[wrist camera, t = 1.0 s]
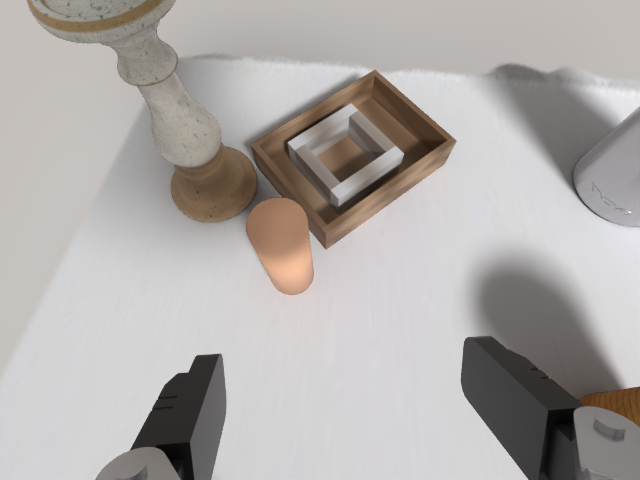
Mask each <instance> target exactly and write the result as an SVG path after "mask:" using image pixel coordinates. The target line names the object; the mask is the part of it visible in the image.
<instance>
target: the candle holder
mask: <svg viewBox="0 0 640 480" xmlns="http://www.w3.org/2000/svg"><path fill="white" fill-rule="evenodd" d="M175 2H176V0H27V3H28V6H29V8H30V11H31V13H32V14H33V16H34V17H35V19H36V20H37V22H38V23H39V24H40V25H41V26H42V27H43V28H44V29H46V30H47V31H48V32H49V33H51V34H53V35H54V36H56V37H58V38H61V39H64V40H67V41H71V42H76V43H100V44H103V45H105V46H110V47H111V48H113V49H114V50H115V51H116V53H117V55H118V64H117V69H118V73H119V75H120V77H121V78H122V79H123V80H124V81H125V82H127V83H129V84H131V85H135V86H137V87H138V88H139V90H140V92H141V94H142V95H143V97H144V99H145V101H146V102H147V104H148V106H149V108H150V111H151V115H152V133H153V138H154V142H155V145H156V147H157V149H158V151H159V152H160V154H161V155H162V156H163V157H164V158H165V159H166V160H168V161H169V162H171V163H172V164H174V166H175V168H176V171H175V173H174V175H173V178H172V181H171V193H172V197H173V199H174V202H175V204H176V205H177V206H178V208H179V209H180V210H181V211H182V212H183V213H184V214H185V215H187V216H188V217H190V218H192V219H194V220H197V221H201V222H220V221H224V220H227V219H230V218H232V217H234V216H236V215H237V214H239V213H240V212H242V211H243V210H244V209H245V208H246V207H247V206H248V205H249V204H250V202H251V201H252V199H253V197H254V195H255V192H256V188H257V175H256V171H255V168H254V166H253V164H252V162H251V161H250V160H249V159H248V157H247V156H245V155H244V154H243V153H241V152H240V151H238V150H235V149H233V148H229V147H224V145H223V144H222V142H221V140H222V135H221V129H220V126H219V124H218V122H217V120H216V119H215V117H214V116H213V115H212V114H211V113H210V112H209V111H208V110H207V109H206V108H205V107H204V106H202V105H201V104H200V103H198V102H197V101H195V100H194V99H193V98H192V97H191V96H190V95H189V94H188V93H187V92H186V90H185V88H184V86H183V85H182V83H181V81H180V79H179V77H178V75H177V74H176V71H175V69H176V67H177V64H178V57H177V54H176V52H175V51H174V49H173V48H172V47H171V46H169V45H168V44H166V43H164V42H163V41H161V40H160V39H159V37H158V35H157V31H156V30H157V27H158V24H159V21H160V19H161V18H162V17H164V16H165V14H166V13H167V12H168V11H169V10H170V9H171V8H172V6H173V5H174V3H175Z"/></svg>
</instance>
